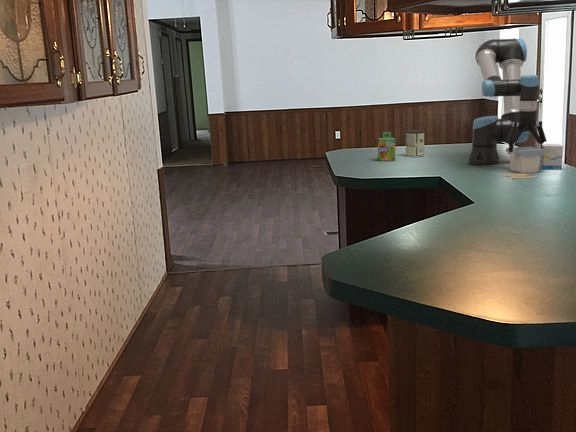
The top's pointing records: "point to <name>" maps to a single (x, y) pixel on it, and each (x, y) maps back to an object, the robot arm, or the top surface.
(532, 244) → the top surface
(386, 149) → the chalk box
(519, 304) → the top surface
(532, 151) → the lid
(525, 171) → the crate
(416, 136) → the cream miniature cabinet
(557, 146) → the ink box
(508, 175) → the mat
